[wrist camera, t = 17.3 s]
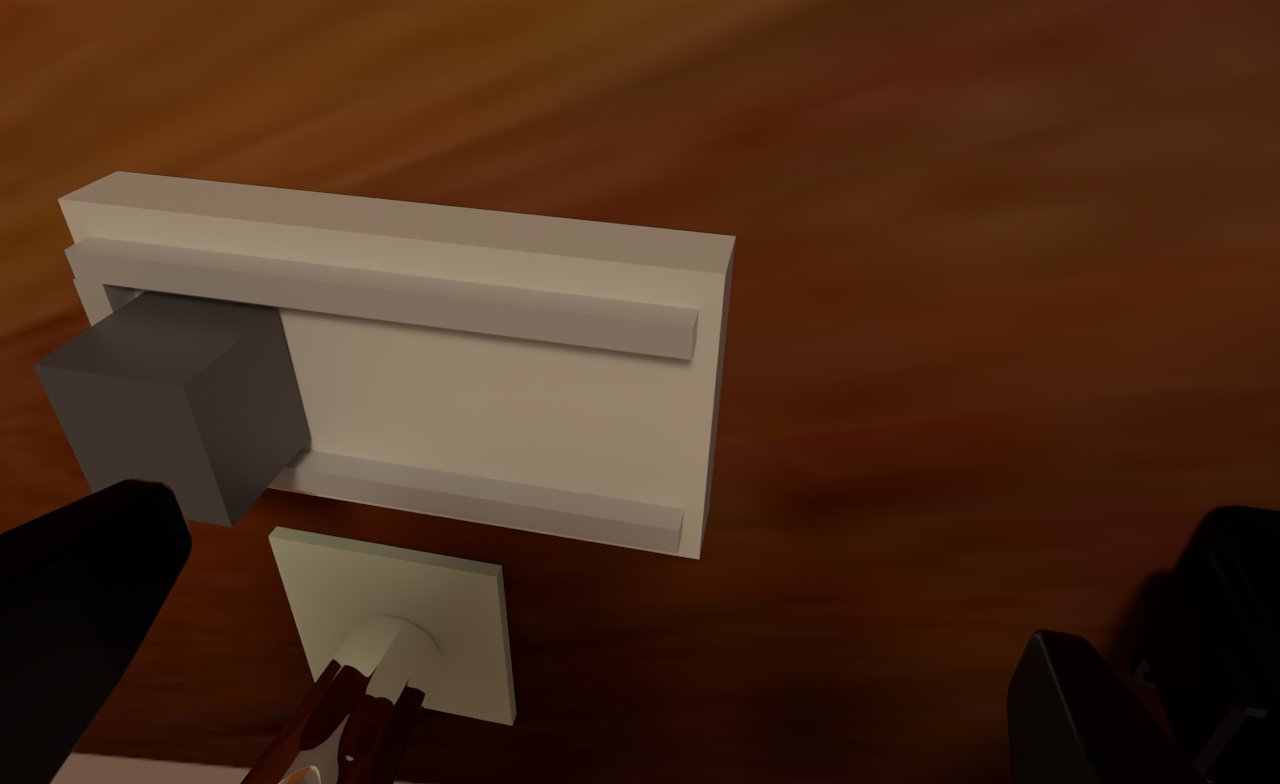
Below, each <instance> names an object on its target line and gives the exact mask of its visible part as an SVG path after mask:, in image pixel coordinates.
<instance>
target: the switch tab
mask: <svg viewBox="0 0 1280 784" xmlns="http://www.w3.org/2000/svg"><path fill="white" fill-rule="evenodd" d="M34 367H35V370H36V372H37V374H38V376H39V378H40V380H41V382H42V385H43V387H44V389H45V391H46V393H47V395H48V398H49V400H50V402H51V404H52V406H53V408H54V410H55V413H56V415H57V417H58V419H59V421H60V423H61V426H62V428H63V430H64V432H65V434H66V436H67V438H68V441H69V443H70V445H71V447H72V449H73V451H74V454H75V456H76V458H77V460H78V462H79V464H80V466H81V469H82V471H83V473H84V475H85V477H86V479H87V482H88V484H89V486H90V488H91V490H92V492H93V493H95V492H98V491H100V490H102V489H105V488H107V487H109V486H111V485H114V484H116V483H118V482H121V481H123V480H126V479H130V478H141V479H147V480H153V481H159V482H164V483H166V484H168V485H169V486H170V487H171V488H172V489H173V490H174V492H175V494H176V496H177V499H178V501H179V504H180V506H181V509H182V512H183V514H184V517H185V519H187V520H193V521H199V522H204V523H210V524H216V525H221V526H227V527H233V526H234V525H235V523H236V522H237V521H238V520H239V519H240V518H241V517H242V516H243V514H244V513H245V512H246V511H247V510H248V509H249V508H250V506H251V505H252V504H253V503H254V502H255V501H256V500H257V499H258V497H259V496H260V495H261V494H262V493H263V492H264V491H265V489H266V488H267V487H268V486H269V485H270V484H271V483H272V482H273V480H274V479H275V478H276V477H277V476H278V475H279V474H280V472H281V471H282V470H283V469H284V468H285V467H286V466H287V464H288V463H289V462H290V461H291V460H292V459H293V458H294V457H295V455H296V454H297V453H298V452H299V451H300V450H301V449H302V447H303V446H304V445H305V444H306V443H307V442H308V441H309V440H310V437H309V433H308V429H307V425H306V421H305V417H304V413H303V409H302V405H301V401H300V397H299V394H298V390H297V386H296V382H295V378H294V374H293V370H292V366H291V362H290V358H289V354H288V350H287V346H286V342H285V339H284V335H283V331H282V327H281V323H280V319H279V315H278V311H277V308H270V307H262V306H254V305H246V304H239V303H231V302H223V301H216V300H208V299H200V298H192V297H185V296H177V295H169V294H162V293H154V292H146V291H145V292H143V293H142V294H140V295H139V296H137V297H136V298H134V299H133V300H131V301H130V302H128V303H127V304H125V305H124V306H122V307H121V308H119V309H118V310H116V311H115V312H113V313H111V314H110V315H108V316H107V317H105V318H104V319H102V320H101V321H99V322H98V323H96V324H95V325H93V326H92V327H90V328H89V329H87V330H86V331H84V332H82V333H81V334H79V335H78V336H76V337H75V338H73V339H72V340H70V341H69V342H67V343H66V344H64V345H63V346H61V347H60V348H58V349H57V350H55V351H54V352H52V353H50V354H49V355H47V356H46V357H44V358H43V359H41V360H40V361H38V362H37V363H35V364H34Z"/></svg>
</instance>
